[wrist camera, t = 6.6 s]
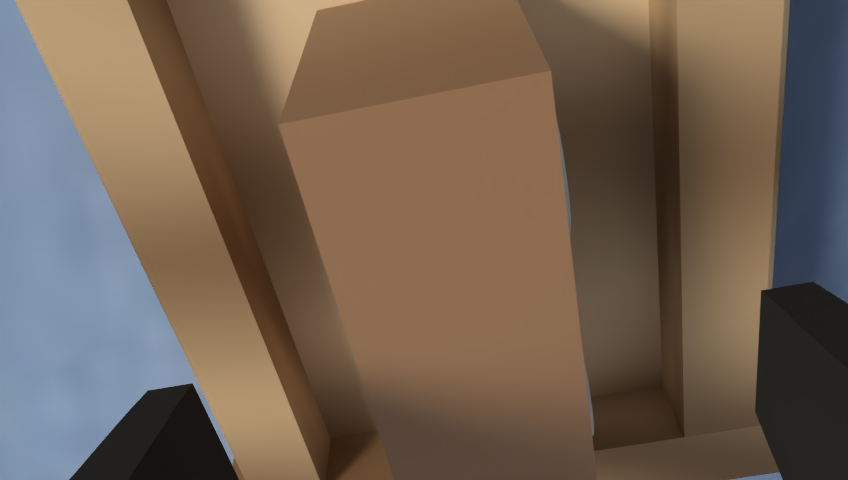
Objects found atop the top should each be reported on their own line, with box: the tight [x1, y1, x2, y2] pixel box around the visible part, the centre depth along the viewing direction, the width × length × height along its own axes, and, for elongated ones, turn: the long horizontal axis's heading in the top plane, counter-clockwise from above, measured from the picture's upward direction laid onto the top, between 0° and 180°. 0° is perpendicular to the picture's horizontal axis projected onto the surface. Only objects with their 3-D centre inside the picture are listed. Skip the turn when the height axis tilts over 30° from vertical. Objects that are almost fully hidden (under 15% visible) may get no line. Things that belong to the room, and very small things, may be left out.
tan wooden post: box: [278, 0, 597, 480], centre depth 12 cm, size 8×3×4 cm, turn 11°
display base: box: [15, 0, 790, 480], centre depth 14 cm, size 14×12×4 cm
